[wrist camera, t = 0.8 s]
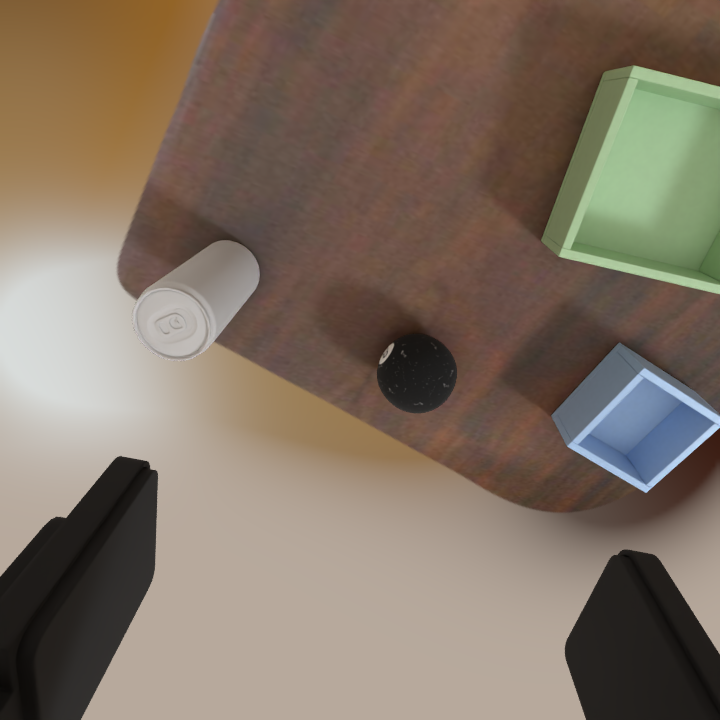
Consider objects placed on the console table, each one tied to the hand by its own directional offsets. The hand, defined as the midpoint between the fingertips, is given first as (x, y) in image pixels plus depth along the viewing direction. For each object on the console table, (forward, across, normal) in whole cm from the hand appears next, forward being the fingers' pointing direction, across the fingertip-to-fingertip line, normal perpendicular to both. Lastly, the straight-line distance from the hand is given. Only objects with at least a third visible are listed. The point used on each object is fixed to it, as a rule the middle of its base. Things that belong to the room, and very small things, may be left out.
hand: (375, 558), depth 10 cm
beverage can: (+31, +11, +4) cm, 34 cm away
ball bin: (+31, -18, -8) cm, 36 cm away
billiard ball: (+31, -4, +8) cm, 33 cm away
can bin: (+31, -22, +9) cm, 39 cm away
